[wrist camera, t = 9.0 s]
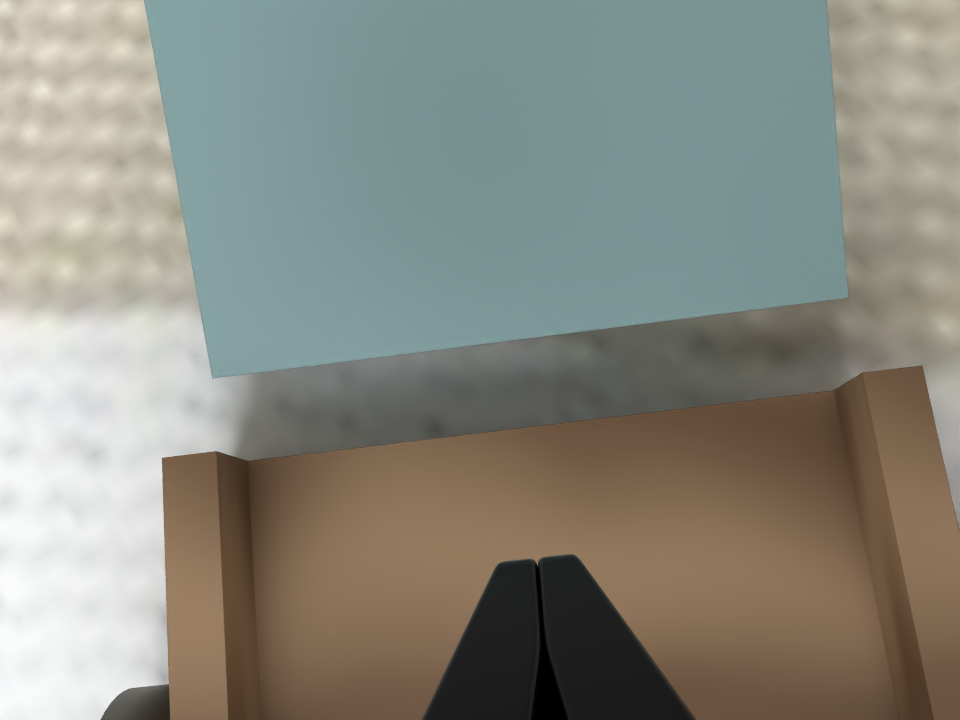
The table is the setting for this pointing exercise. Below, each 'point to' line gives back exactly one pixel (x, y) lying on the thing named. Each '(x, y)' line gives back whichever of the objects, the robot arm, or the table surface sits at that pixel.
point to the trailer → (596, 542)
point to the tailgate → (494, 168)
